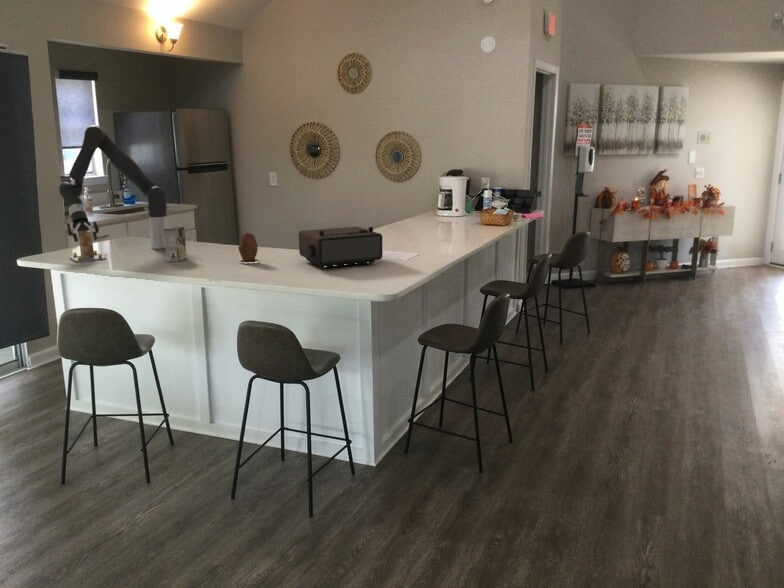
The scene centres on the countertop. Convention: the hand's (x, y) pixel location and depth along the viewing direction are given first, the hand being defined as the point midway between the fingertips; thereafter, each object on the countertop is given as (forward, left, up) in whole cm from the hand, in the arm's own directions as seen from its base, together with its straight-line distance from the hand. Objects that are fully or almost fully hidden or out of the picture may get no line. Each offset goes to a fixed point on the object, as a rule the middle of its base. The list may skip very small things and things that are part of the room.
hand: (86, 240), depth 338 cm
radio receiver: (-95, +84, -10) cm, 127 cm away
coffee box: (-35, +28, -10) cm, 46 cm away
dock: (0, -1, -10) cm, 10 cm away
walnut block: (0, -1, -9) cm, 9 cm away
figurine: (-61, +56, -10) cm, 84 cm away
